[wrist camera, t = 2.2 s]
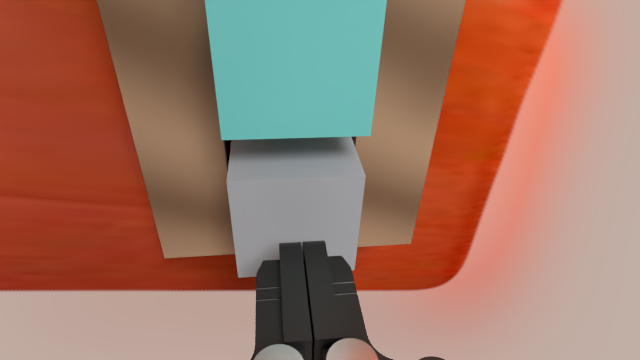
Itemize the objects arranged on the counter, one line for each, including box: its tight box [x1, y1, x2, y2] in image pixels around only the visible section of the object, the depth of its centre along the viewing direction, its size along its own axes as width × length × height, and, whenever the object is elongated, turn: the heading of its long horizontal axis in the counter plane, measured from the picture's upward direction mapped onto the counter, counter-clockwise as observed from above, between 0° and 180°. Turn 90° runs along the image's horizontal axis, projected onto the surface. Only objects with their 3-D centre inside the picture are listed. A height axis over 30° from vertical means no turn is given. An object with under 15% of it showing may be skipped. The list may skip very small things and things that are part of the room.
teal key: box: [205, 0, 387, 140], centre depth 13 cm, size 4×4×4 cm
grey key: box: [227, 137, 366, 278], centre depth 16 cm, size 4×4×4 cm
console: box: [97, 0, 465, 258], centre depth 16 cm, size 21×12×5 cm, turn 178°
